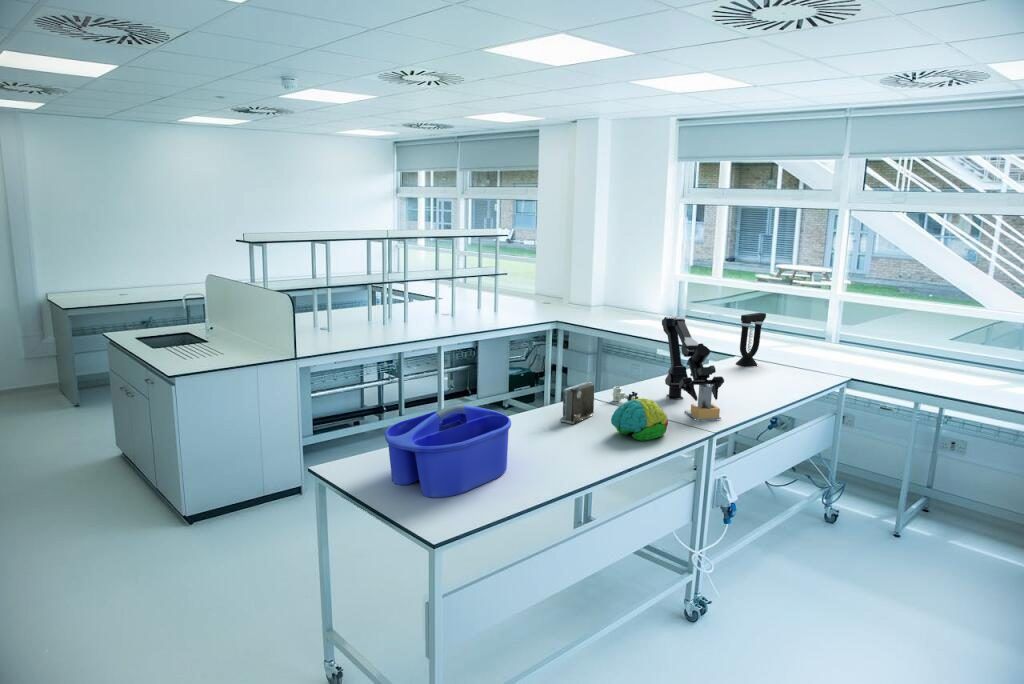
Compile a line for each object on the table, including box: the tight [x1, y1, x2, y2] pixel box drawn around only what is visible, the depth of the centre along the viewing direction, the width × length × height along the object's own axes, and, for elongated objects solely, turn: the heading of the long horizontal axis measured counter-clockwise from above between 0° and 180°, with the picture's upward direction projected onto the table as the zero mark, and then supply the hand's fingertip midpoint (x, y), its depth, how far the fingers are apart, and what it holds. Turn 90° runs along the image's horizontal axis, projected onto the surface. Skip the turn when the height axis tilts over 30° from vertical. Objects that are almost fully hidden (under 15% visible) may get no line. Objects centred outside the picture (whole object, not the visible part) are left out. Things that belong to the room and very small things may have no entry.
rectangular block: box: [697, 384, 713, 409], centre depth 277 cm, size 4×4×13 cm
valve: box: [612, 386, 639, 402], centre depth 298 cm, size 7×7×12 cm
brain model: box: [610, 397, 669, 442], centre depth 252 cm, size 24×19×15 cm
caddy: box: [384, 404, 512, 498], centre depth 212 cm, size 32×45×23 cm
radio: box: [559, 381, 595, 425], centre depth 275 cm, size 23×9×15 cm, turn 141°
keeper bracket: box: [684, 403, 722, 421], centre depth 278 cm, size 12×11×7 cm
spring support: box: [735, 312, 767, 367], centre depth 376 cm, size 21×12×30 cm, turn 130°
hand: (706, 399), depth 275 cm, fingers open, 9 cm apart
